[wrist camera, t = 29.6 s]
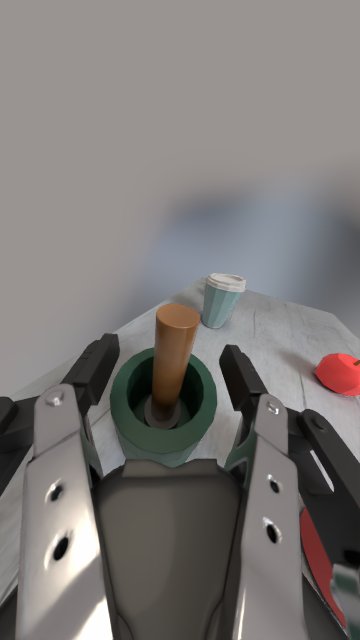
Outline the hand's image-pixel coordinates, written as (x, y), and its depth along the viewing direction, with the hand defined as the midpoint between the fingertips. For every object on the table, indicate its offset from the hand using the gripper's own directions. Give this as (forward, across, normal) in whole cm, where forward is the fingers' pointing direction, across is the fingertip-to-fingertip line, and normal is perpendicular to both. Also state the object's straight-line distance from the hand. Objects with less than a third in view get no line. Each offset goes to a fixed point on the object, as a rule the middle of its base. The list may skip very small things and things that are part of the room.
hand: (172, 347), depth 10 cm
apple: (+9, -37, +16) cm, 41 cm away
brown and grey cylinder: (0, 0, +15) cm, 15 cm away
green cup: (0, 0, +16) cm, 16 cm away
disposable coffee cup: (+28, -14, +16) cm, 35 cm away
